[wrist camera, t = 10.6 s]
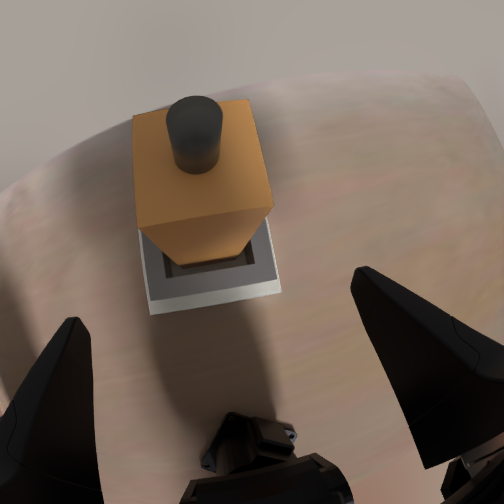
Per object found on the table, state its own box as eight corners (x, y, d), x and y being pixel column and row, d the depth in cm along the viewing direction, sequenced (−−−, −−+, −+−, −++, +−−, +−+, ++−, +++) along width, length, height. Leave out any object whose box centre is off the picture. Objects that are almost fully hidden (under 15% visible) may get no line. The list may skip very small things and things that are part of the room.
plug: (235, 259, 21) (293, 178, 6) (182, 269, 20) (115, 206, 6) (226, 208, 21) (257, 59, 7) (174, 217, 21) (119, 77, 6)
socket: (278, 292, 22) (295, 291, 18) (152, 314, 20) (138, 318, 16) (255, 174, 23) (264, 148, 19) (137, 192, 22) (123, 169, 17)
